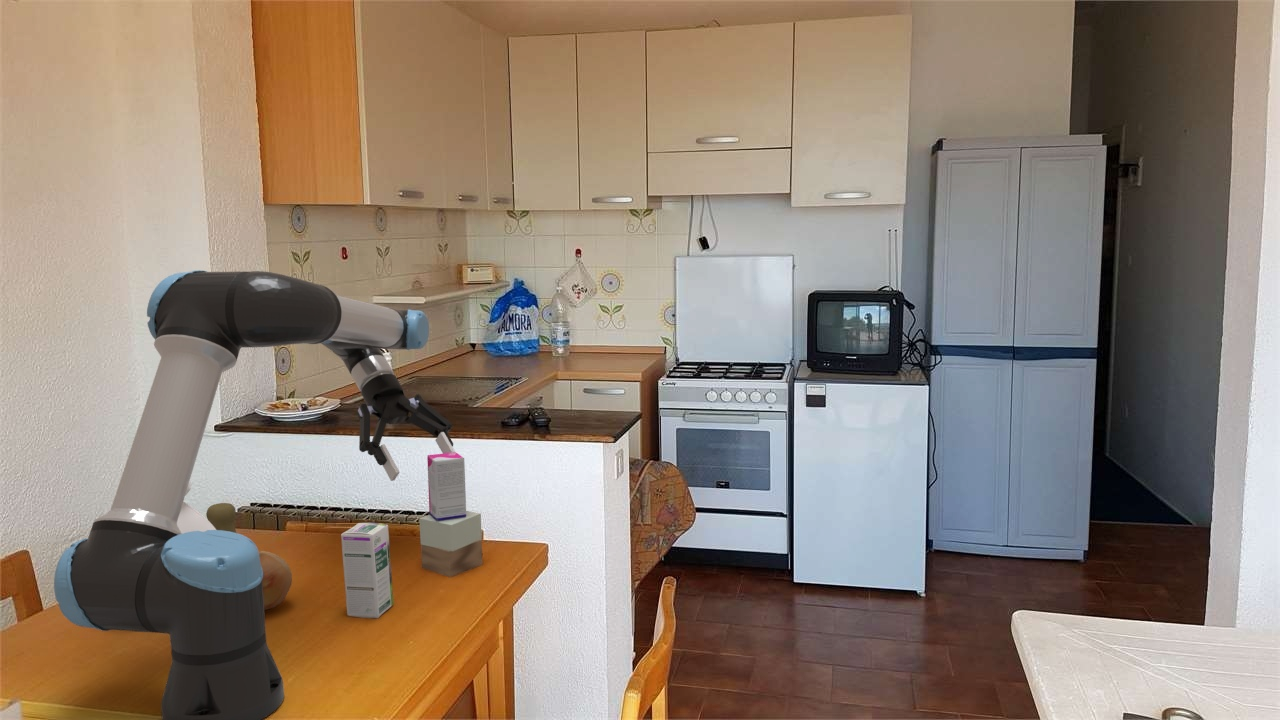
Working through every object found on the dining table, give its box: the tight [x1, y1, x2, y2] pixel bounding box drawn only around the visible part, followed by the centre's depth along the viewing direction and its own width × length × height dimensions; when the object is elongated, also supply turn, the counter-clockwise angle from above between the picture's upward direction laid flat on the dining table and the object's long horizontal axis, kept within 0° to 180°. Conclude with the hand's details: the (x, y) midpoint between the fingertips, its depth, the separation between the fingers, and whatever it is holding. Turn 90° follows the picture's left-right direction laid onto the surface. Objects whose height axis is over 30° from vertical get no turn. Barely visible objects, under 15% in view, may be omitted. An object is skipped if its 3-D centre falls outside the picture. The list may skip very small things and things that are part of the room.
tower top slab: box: [419, 510, 483, 552], centre depth 181 cm, size 8×8×5 cm
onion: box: [258, 550, 293, 611], centre depth 162 cm, size 10×10×10 cm
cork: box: [205, 502, 237, 533], centre depth 187 cm, size 6×6×11 cm
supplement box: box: [427, 451, 467, 522], centre depth 180 cm, size 6×6×12 cm
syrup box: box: [340, 522, 394, 619], centre depth 160 cm, size 6×6×14 cm
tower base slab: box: [420, 539, 484, 578], centre depth 182 cm, size 8×8×5 cm
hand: (425, 469), depth 185 cm, fingers open, 13 cm apart
